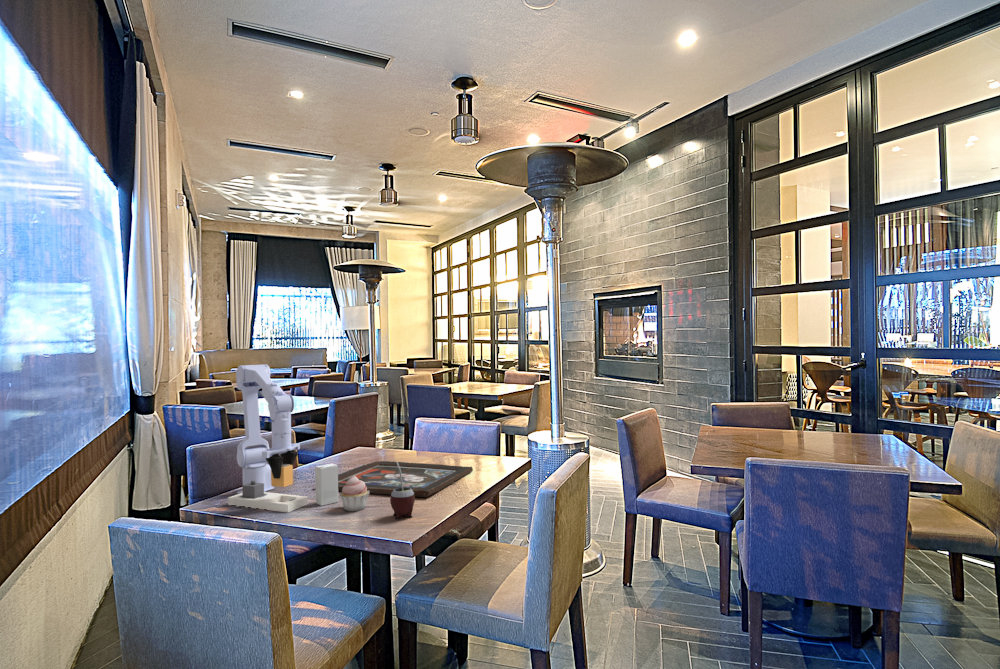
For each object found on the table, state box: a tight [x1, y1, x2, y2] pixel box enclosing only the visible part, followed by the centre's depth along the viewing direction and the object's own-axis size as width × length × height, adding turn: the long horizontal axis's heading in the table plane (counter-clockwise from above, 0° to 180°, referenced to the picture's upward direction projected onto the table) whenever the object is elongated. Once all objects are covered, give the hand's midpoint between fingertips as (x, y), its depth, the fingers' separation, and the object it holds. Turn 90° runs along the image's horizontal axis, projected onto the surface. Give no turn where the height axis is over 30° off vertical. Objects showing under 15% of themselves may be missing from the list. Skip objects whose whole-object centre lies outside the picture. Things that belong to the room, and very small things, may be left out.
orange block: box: [271, 463, 294, 488], centre depth 180 cm, size 4×5×6 cm
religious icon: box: [338, 460, 474, 498], centre depth 211 cm, size 40×45×3 cm
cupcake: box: [338, 476, 370, 512], centre depth 176 cm, size 9×9×10 cm
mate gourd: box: [389, 461, 416, 521], centre depth 168 cm, size 8×8×15 cm
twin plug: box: [241, 481, 264, 499], centre depth 184 cm, size 4×5×7 cm
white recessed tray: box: [227, 491, 309, 513], centre depth 182 cm, size 9×24×3 cm, turn 69°
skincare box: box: [314, 462, 339, 506], centre depth 183 cm, size 6×4×12 cm
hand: (282, 476), depth 180 cm, fingers closed on orange block, 4 cm apart
